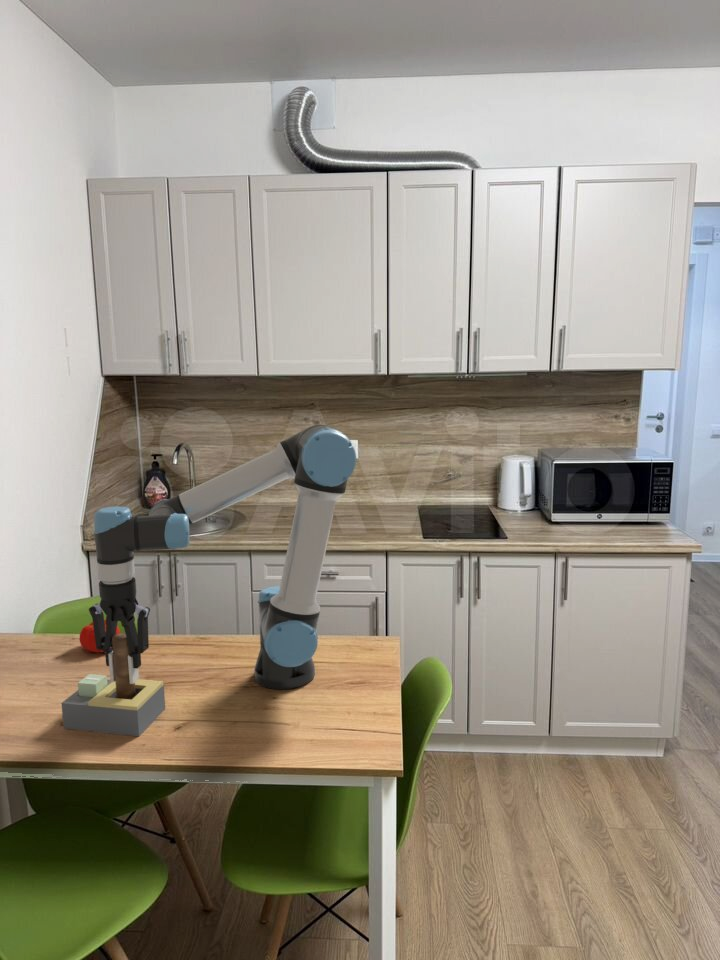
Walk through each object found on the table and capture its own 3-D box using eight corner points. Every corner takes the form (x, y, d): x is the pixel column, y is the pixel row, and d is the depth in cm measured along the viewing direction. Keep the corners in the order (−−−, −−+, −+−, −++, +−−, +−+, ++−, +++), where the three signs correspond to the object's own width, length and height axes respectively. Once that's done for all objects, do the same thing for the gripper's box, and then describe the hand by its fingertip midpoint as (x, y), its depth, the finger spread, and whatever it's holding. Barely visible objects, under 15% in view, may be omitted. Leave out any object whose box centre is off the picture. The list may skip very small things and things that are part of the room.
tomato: (98, 660, 189) (96, 633, 188) (72, 651, 195) (70, 625, 194) (130, 646, 198) (128, 620, 197) (105, 638, 204) (103, 613, 203)
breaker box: (165, 708, 163) (163, 681, 162) (139, 736, 151) (136, 706, 150) (94, 702, 167) (92, 675, 165) (63, 728, 155) (61, 699, 154)
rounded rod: (139, 700, 159) (134, 633, 156) (130, 709, 155) (125, 640, 152) (123, 699, 160) (118, 632, 157) (113, 708, 156) (108, 639, 153)
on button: (108, 692, 161) (106, 675, 160) (97, 701, 156) (95, 684, 156) (90, 690, 162) (89, 673, 161) (79, 699, 157) (77, 682, 157)
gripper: (161, 575, 154) (168, 675, 159) (91, 571, 158) (99, 669, 162) (144, 586, 147) (152, 691, 151) (71, 582, 150) (80, 684, 155)
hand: (124, 680), depth 157 cm, fingers closed on rounded rod, 4 cm apart
